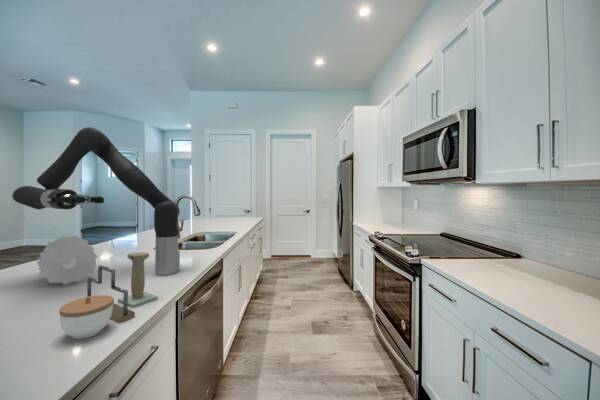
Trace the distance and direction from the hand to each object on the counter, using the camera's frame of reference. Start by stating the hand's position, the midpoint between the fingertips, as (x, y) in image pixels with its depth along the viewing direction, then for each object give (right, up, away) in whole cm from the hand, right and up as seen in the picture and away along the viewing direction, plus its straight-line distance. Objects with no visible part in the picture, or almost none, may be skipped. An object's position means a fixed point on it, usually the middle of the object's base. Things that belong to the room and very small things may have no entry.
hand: (89, 200), depth 87 cm
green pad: (+19, -34, -3) cm, 40 cm away
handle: (+19, -34, -3) cm, 39 cm away
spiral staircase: (-23, -34, +16) cm, 44 cm away
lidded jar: (+19, -35, -23) cm, 46 cm away
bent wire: (+14, -34, -11) cm, 39 cm away
